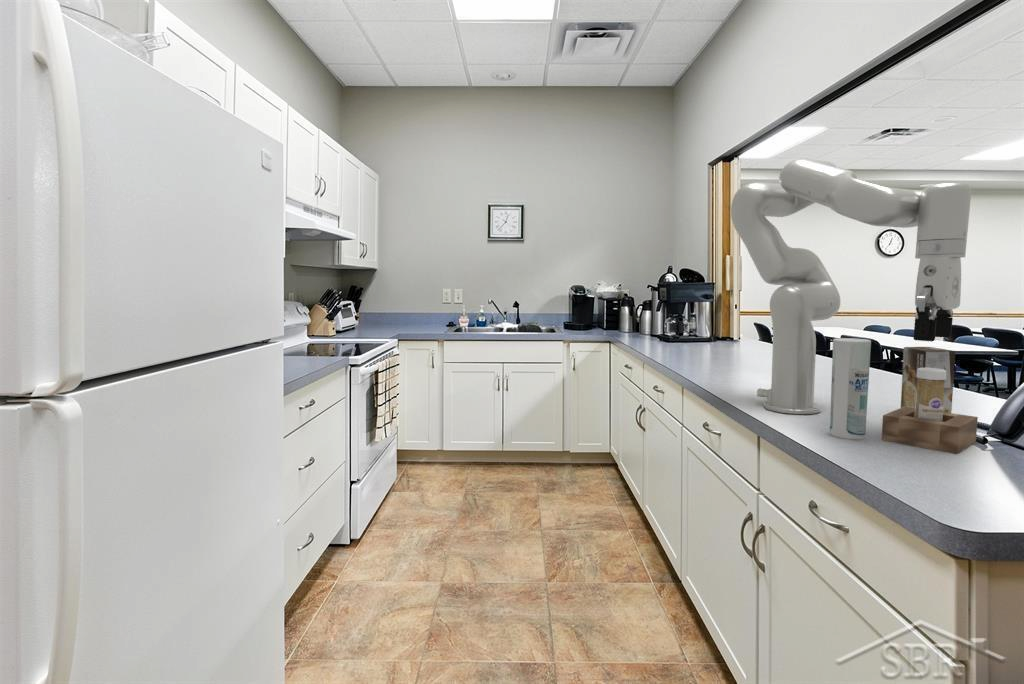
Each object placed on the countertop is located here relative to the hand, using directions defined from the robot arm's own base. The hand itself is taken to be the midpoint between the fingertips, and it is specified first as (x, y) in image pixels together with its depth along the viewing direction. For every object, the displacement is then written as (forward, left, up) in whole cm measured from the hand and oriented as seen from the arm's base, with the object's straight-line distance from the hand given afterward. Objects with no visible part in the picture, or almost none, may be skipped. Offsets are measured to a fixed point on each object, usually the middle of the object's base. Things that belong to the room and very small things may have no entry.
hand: (932, 338), depth 103 cm
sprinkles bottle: (0, 0, -20) cm, 20 cm away
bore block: (0, 0, -20) cm, 20 cm away
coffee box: (-7, +23, -21) cm, 32 cm away
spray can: (-11, -8, -21) cm, 25 cm away
